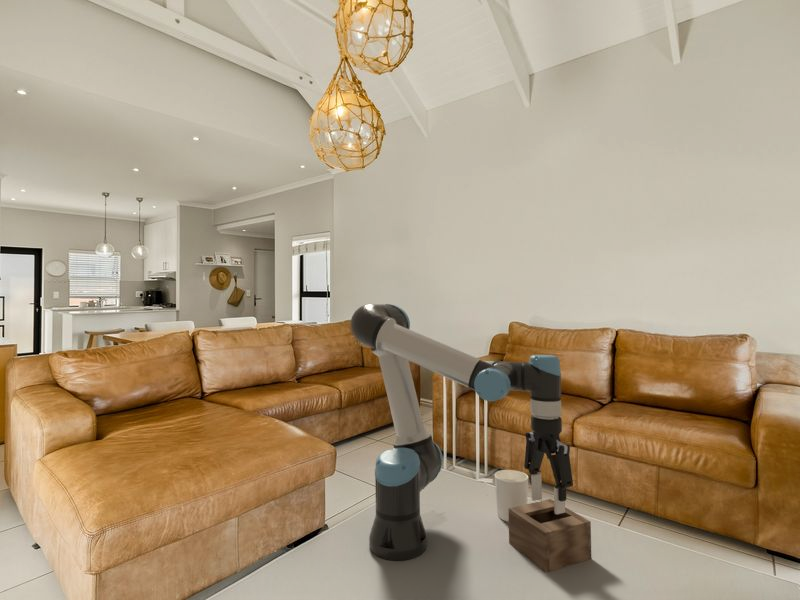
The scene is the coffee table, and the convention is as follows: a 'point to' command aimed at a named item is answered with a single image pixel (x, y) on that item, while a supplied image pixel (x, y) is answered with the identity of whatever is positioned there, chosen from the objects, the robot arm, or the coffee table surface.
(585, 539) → the box
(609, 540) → the coffee table surface
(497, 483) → the candle holder
